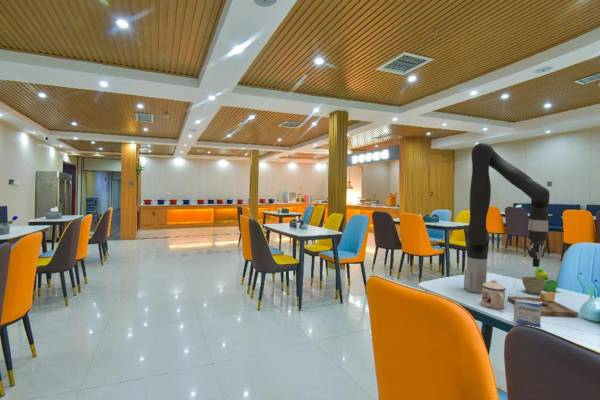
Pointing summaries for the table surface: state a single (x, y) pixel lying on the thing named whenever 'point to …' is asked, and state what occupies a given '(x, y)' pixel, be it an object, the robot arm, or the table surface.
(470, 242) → the robot arm
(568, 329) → the table surface
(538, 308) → the medicine box
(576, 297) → the table surface
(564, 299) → the table surface
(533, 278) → the bowl
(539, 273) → the fruit basket
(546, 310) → the sundial board
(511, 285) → the table surface
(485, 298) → the teacup with lid
